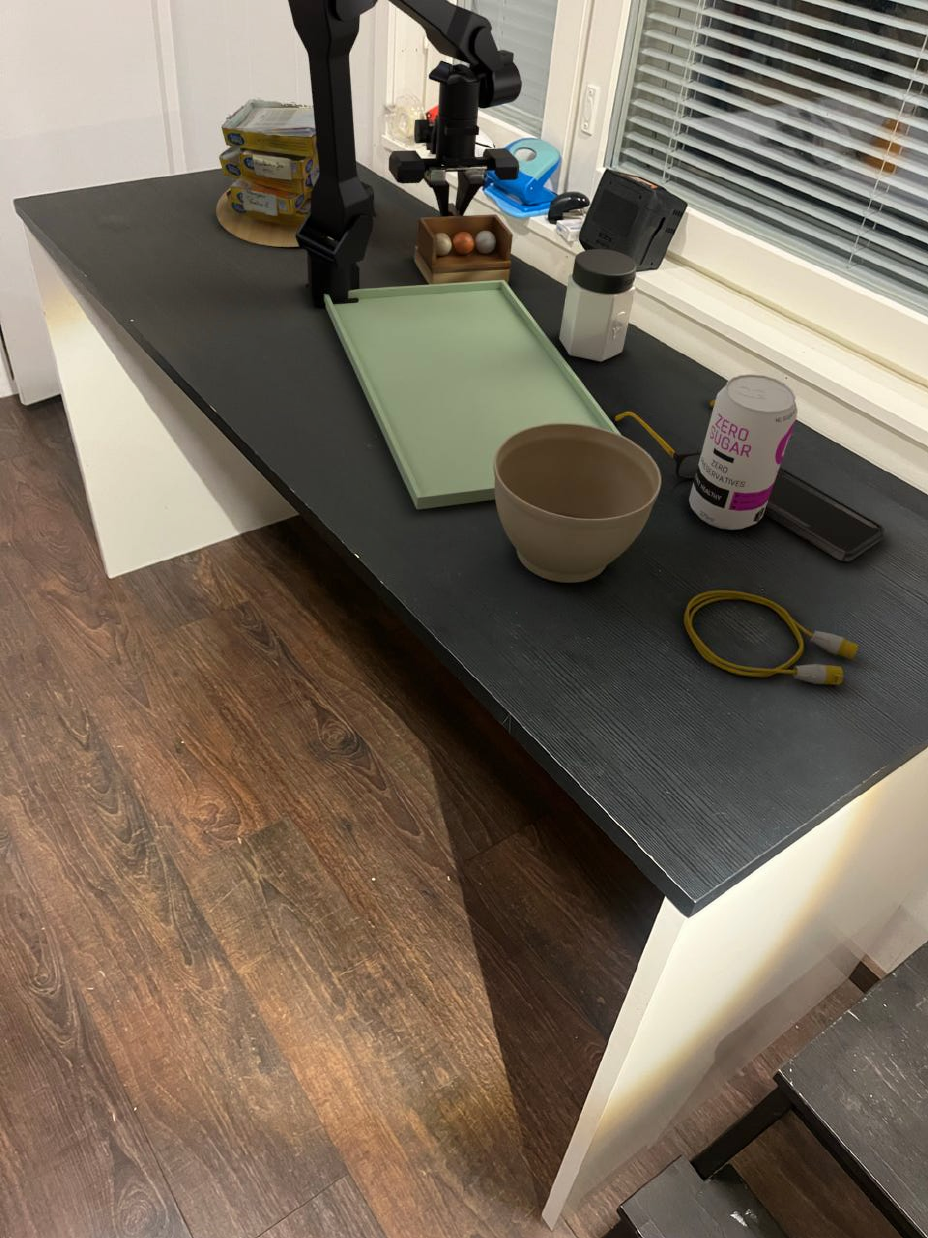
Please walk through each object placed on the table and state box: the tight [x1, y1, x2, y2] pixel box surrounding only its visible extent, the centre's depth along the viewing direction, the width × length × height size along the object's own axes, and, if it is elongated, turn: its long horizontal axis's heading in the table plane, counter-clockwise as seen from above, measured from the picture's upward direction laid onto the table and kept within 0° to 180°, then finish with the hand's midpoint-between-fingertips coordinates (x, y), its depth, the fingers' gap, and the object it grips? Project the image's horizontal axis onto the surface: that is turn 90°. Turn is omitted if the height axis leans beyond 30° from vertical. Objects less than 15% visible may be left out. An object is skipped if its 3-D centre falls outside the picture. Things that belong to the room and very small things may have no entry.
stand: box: [413, 245, 511, 286], centre depth 145 cm, size 12×10×2 cm
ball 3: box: [475, 231, 496, 254], centre depth 143 cm, size 3×3×3 cm
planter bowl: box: [493, 423, 662, 584], centre depth 95 cm, size 16×16×11 cm
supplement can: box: [688, 373, 799, 531], centre depth 101 cm, size 8×8×15 cm
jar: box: [558, 248, 638, 363], centre depth 128 cm, size 9×8×12 cm
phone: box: [763, 466, 885, 563], centre depth 106 cm, size 8×1×15 cm
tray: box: [324, 280, 623, 510], centre depth 122 cm, size 27×49×2 cm, turn 18°
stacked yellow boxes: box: [215, 97, 335, 248], centre depth 150 cm, size 25×25×17 cm
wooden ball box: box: [417, 202, 514, 274], centre depth 143 cm, size 12×13×5 cm
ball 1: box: [435, 233, 452, 256], centre depth 141 cm, size 3×3×3 cm
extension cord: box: [683, 589, 859, 686], centre depth 90 cm, size 12×16×2 cm
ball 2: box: [453, 232, 474, 255], centre depth 142 cm, size 3×3×3 cm
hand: (450, 223), depth 146 cm, fingers closed on wooden ball box, 2 cm apart
